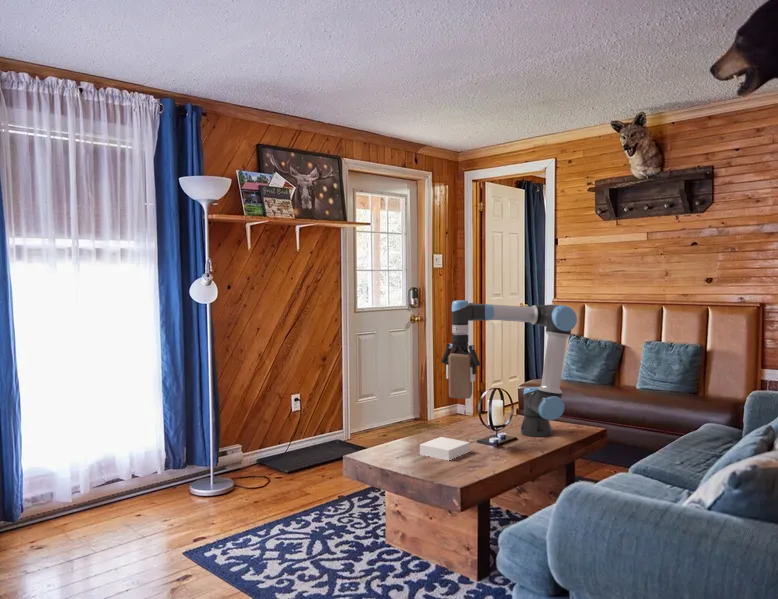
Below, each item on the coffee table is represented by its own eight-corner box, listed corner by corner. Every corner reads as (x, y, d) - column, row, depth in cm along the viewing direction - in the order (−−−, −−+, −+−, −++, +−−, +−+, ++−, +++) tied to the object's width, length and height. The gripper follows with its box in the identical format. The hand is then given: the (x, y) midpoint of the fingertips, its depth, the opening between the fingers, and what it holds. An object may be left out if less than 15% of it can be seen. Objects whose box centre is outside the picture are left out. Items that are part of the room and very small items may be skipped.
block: (470, 399, 277) (470, 355, 276) (448, 398, 279) (448, 354, 279) (472, 394, 287) (472, 352, 286) (451, 394, 289) (450, 352, 288)
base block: (470, 453, 274) (469, 442, 274) (449, 462, 262) (448, 450, 262) (441, 447, 285) (441, 436, 285) (419, 455, 273) (419, 444, 273)
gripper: (433, 333, 288) (434, 378, 288) (478, 336, 271) (478, 383, 272) (443, 331, 293) (444, 376, 294) (487, 334, 276) (487, 381, 277)
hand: (460, 379), depth 283 cm, fingers closed on block, 13 cm apart
